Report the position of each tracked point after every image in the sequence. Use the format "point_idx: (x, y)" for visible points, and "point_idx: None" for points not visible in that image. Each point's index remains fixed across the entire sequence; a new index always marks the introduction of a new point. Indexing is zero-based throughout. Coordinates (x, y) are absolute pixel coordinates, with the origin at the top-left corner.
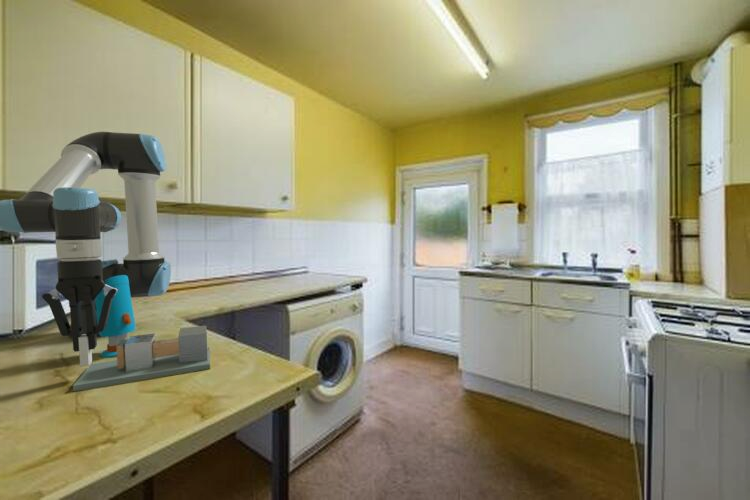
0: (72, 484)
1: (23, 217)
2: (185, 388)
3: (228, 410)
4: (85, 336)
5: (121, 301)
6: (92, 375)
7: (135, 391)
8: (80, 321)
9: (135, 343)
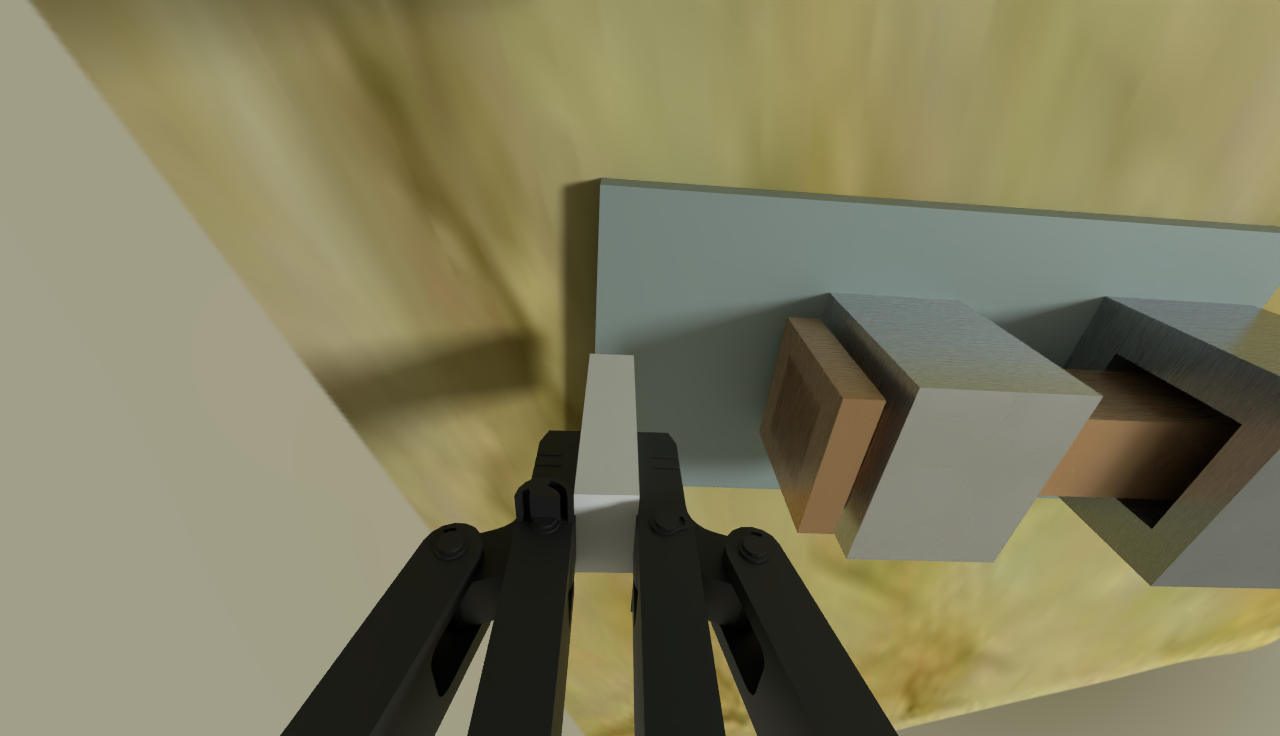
0: None
1: None
2: (937, 590)
3: (965, 708)
4: (618, 559)
5: None
6: (645, 404)
7: (799, 551)
8: (562, 659)
9: (904, 558)
